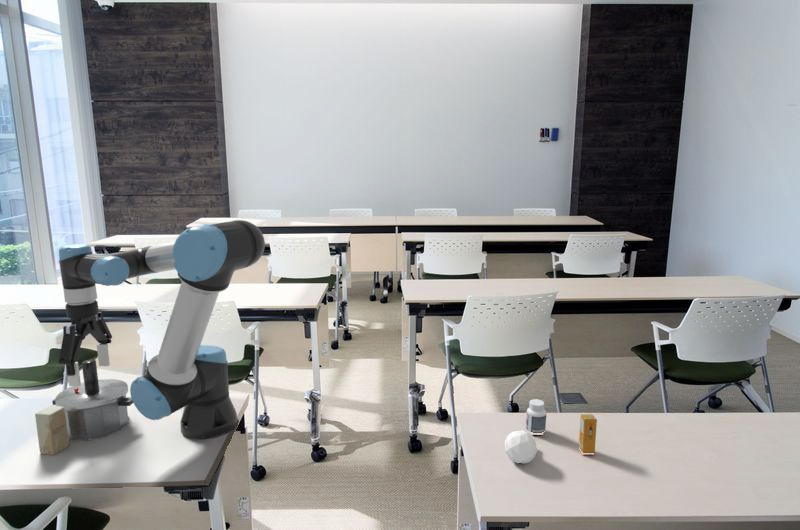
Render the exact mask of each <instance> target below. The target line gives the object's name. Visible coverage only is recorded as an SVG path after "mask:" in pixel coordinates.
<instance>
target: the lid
mask: <svg viewBox="0 0 800 530" xmlns="http://www.w3.org/2000/svg"><path fill="white" fill-rule="evenodd" d="M81 368H82V377H83V382H81V385H80V386H69V387H67V388H66V389H63V390H62V391H60V392H59V393H58V394H57V395H56V397H55V402H56V405H55V406H60V407H64V409H65V410H67V411H82V410H90V409H95V408H99V407H103V406H106V405H109V404H111V403H114V402H116V401H118V400H120V399H121V398H123V397H124V396H125V395H126V396H127V395H128V392H129V385H128V383H127V382H126V381H124V380H121V379H116V378H115V379H114V378H104V379H99V376H98V367H97V360H96V359H86V360H84V361H82V362H81Z"/></svg>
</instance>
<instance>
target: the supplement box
mask: <svg viewBox="0 0 800 530" xmlns="http://www.w3.org/2000/svg"><path fill="white" fill-rule="evenodd" d="M579 421H580V422H579V436H578V437H579V439H578V442H579V443H578V448H579V447H580V449H581V451H582V452H583V453H595V454H596V440H597V439H596V438H597V423H598V420H597V418H596V417H595V416H594V415H593V414H591V413H590V414H589V413H588V414H586V413H585V414H583V413H582V414H580V420H579Z"/></svg>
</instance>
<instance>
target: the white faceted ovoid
mask: <svg viewBox="0 0 800 530" xmlns="http://www.w3.org/2000/svg"><path fill="white" fill-rule="evenodd" d="M503 445H504V449H505V453H506V455H507V456H508V458H509V460H510V461H512V462H514V463H516V464H518V463H522V464H528V463H529V462H531V461H533V460H534V459H535V457H536V454H537V452H538V447H537V442H536V439H535V438H534V436H533V435H531V434H529V433H527V432H526V430H520V429H519V430H514V431H512V432H510V433H509V434H508V435H507V437H506V439H505V441H504V444H503Z"/></svg>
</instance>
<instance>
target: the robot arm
mask: <svg viewBox="0 0 800 530" xmlns="http://www.w3.org/2000/svg"><path fill="white" fill-rule="evenodd" d="M265 246H266V241H265V237H264V235H263V233H262V231H261V229H260V228H259V227H258V226H256V225H255V224H254V223H252V222H250V221H247V220H243V219H242V220H240V219H239V220H238V219H236V220H235V219H234V220H231V221H224V222H218V223H213V224H208V223H206V224H200V225H196V226H193V227H190V228H187V229H185V230H183V232H181V233H180V234H179V235H178V236H177V238H176V240H174V241H171V242H165V243H160V244H155V245H149V246H145V247H139V248H136V249H130V250H124V251H118V252H112V253H107V254H94V253H93V250H92V247H91V245H89V244H87V243H75V244H65V245H62V246H60V247H59V248H58V258H59V259H58V263H59V268H60V276H61V282H62V288H63V296H64V297H63V298H64V302H65V303H66V304H65V313H66V314H65V315H66V317H67V319H69V320H71V324H70V325H63V327H62V330H63V331H62V332H63V334H62V335H63V336H62V341H61V347H60V353H59V356H58V357H59V359H58V364H59V365H65V369H66V374H67V381H68V386H69V387H72V386H80V385H81V383H82V382H81V374H80V367H79V362H78V361H77V358H78V355H79V353H80V349H81V345H82V344H83V343H82V342H83V340H85V339H86V337H87V336H88V335H89V334H90V336H92V337H93V339H95V341H96V342H97V343H98V344H96V349H97V350H96V351H97V357H98V358H97V359H98V360H97V361H98V366H99V367H109V366H110V365H111V363H110V356H109V355H110V353H109V345H108V344H112V338H113V335H112V334H111V331H110V329H109V327H108V324H107V323H106V320H105V319H104V314H103V312H102V311H100V310H99V304H98V302H99V301H97V299H98V292H97V284H98V285H101V286H108V287H109V286H116V287H117V286H119V285H122V284H123V283H125V282H126V280H130V279H133V278H137V277H141V276H142V277H143V276H145V275H151V274H157V273H162V272H168V271H175V270H176V272H177V277H178V279H179V280H180V281H181V284H180V287H179V289H178V292H177V296H176V299H175V302H174V305H173V308H172V311H171V315H170V318H169V320H168V324H167V326H166V330H165V331H164V335H163V338H162V341H161V345H160V349H159V351H158V354H156V355H155V356H152V358H151V359H150V360H149V361H148V364H147V367H146V371H145V373H144V374H143V375H142V376H138V377H136V378H135V379H134V380H133V381H132V382H131V384H130V387H129V388H130V389H129V390H130V391H129V392H130V398H132V401H133V402H134V403H133V405H134V406H135V408H136V409H137V411H138V412H139V413H140V414H141V415H142V416H144V417H145V418H147V419H149V420H151V421H159V420H162V419H164V418H165V417H166V418H167V417H169V416H171V415H172V414H174V413H176V412H178V411H180V409H183V411H182V415H181V419H180V424H179V425H180V432H181V433H182V435H184V436H186V437H187V438H191V439H209V438H215V437H219V436H221V435H224V434H227V433H229V432H230V431H231V430H233V429H234V428H235V427H236V426H237V423H238V413H237V411H236V408H235V406H234V404H233V401H232V400H231V398H230V391H229V390H230V388H229V385H230V384H229V370H228V369H229V368H228V367H229V366H228V360H227V359H228V358H227V352H226V350H225V349H224V348H222V347H221V346H220V347H219V346H217V345H208V344H207V345H206V344H205V345H204V344H203V345H202V342H203V338H204V336H205V334H206V330H207V327H208V325H209V322H210V319H211V316H212V314H213V311H214V308H215V305H216V302H217V299H218V297H219V294H220V293H221V292H224V291H225V290H227V289H228V287H230V282H231V281H232V277H233V274H234V273H235V272H236V271H239V270H242V269H246V268H248V267H251V266H253V265H255V264H257V262H258V261H259V260H260V259H261V258H262V257H263V254H264V252H265Z"/></svg>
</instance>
